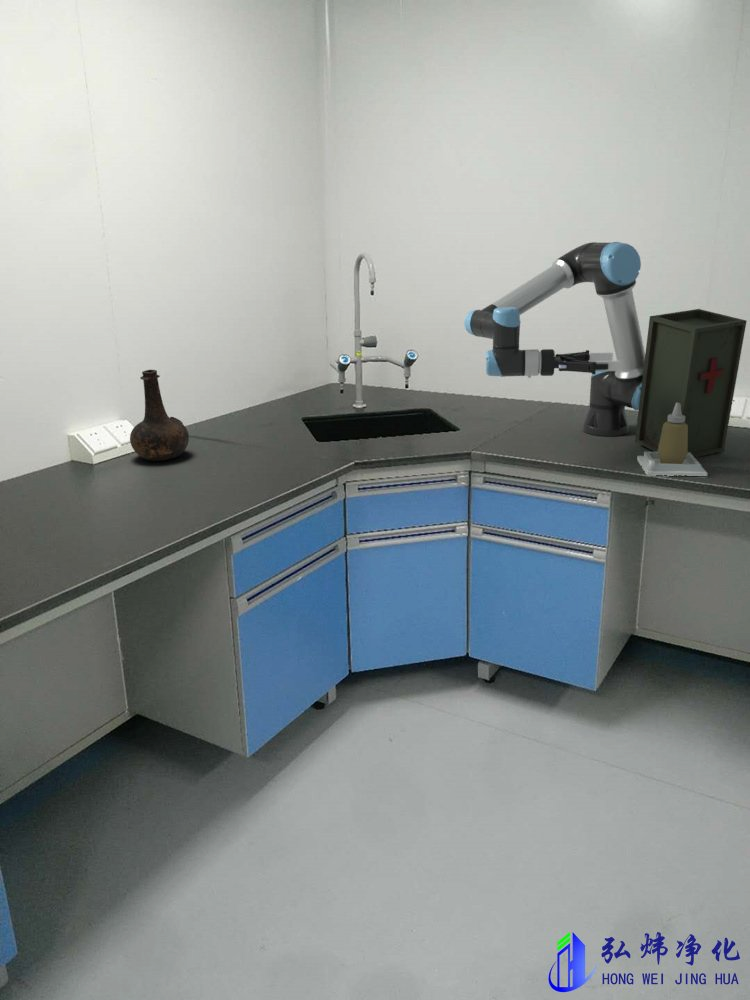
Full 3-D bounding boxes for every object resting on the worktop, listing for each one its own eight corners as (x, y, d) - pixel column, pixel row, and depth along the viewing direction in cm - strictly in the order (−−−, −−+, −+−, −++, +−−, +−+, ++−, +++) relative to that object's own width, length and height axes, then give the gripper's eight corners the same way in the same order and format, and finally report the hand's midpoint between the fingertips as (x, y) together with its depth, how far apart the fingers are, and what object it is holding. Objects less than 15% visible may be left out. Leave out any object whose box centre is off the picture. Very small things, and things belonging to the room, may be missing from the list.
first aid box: (676, 462, 226) (695, 328, 208) (634, 441, 241) (649, 316, 223) (723, 451, 232) (746, 320, 214) (680, 431, 247) (698, 308, 229)
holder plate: (637, 459, 227) (638, 446, 226) (693, 460, 225) (694, 447, 223) (647, 475, 212) (648, 461, 211) (706, 477, 210) (708, 462, 209)
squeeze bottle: (690, 463, 218) (698, 402, 212) (679, 470, 213) (686, 407, 207) (663, 458, 223) (669, 398, 217) (651, 464, 218) (658, 403, 212)
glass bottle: (201, 455, 242) (192, 368, 233) (153, 469, 230) (141, 377, 221) (169, 446, 254) (159, 363, 244) (122, 459, 241) (109, 371, 232)
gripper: (536, 367, 230) (608, 366, 227) (542, 384, 207) (622, 383, 204) (537, 342, 228) (610, 341, 224) (543, 357, 204) (624, 355, 201)
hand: (616, 361), depth 214 cm, fingers open, 13 cm apart
